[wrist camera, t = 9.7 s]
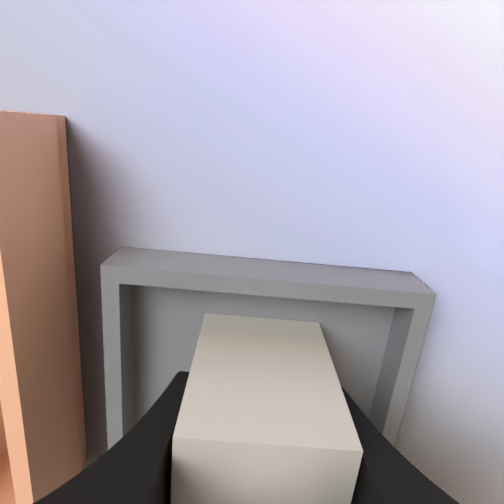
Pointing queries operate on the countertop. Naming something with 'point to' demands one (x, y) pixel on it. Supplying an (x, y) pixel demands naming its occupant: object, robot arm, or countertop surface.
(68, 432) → the bin
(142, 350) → the stone tray
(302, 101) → the countertop surface
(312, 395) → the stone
